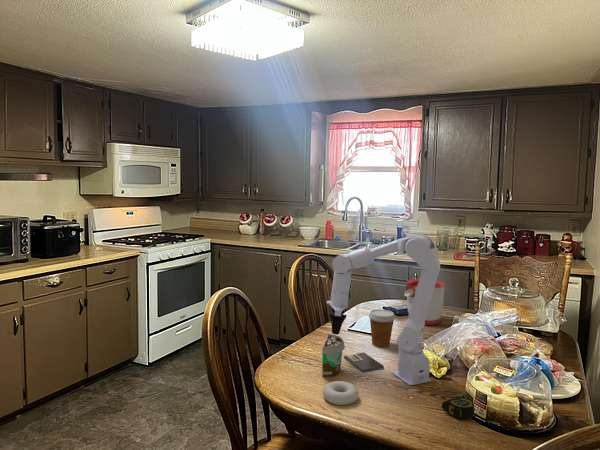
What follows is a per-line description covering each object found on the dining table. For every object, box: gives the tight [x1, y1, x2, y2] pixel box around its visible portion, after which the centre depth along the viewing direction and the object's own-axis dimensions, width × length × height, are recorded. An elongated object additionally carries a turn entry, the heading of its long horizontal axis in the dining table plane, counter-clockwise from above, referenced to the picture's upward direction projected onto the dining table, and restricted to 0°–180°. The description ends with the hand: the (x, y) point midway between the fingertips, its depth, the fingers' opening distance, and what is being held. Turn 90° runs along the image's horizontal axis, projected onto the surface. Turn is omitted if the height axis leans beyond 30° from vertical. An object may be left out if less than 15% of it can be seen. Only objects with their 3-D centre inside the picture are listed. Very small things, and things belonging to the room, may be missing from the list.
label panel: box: [343, 352, 385, 373], centre depth 149 cm, size 12×8×1 cm, turn 24°
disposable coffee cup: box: [368, 308, 396, 348], centre depth 166 cm, size 10×10×12 cm
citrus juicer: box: [403, 278, 446, 326], centre depth 193 cm, size 16×17×20 cm
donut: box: [322, 380, 360, 406], centre depth 126 cm, size 10×3×10 cm
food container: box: [321, 333, 346, 378], centre depth 142 cm, size 12×6×10 cm, turn 168°
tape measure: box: [441, 396, 475, 420], centre depth 118 cm, size 7×7×4 cm
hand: (335, 329), depth 150 cm, fingers open, 7 cm apart
